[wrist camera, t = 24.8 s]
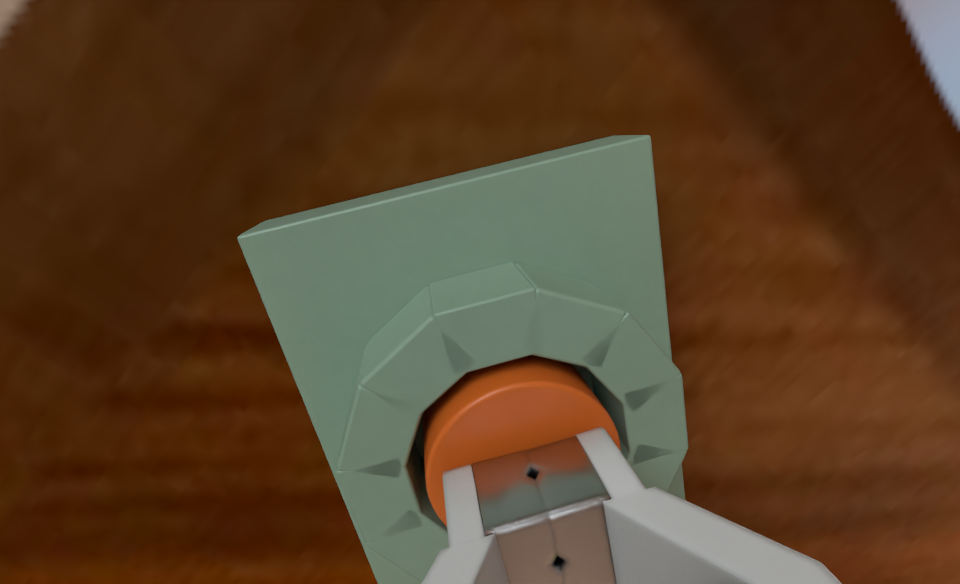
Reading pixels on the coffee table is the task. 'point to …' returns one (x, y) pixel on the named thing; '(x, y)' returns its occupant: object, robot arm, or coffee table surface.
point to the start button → (506, 416)
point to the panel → (471, 319)
